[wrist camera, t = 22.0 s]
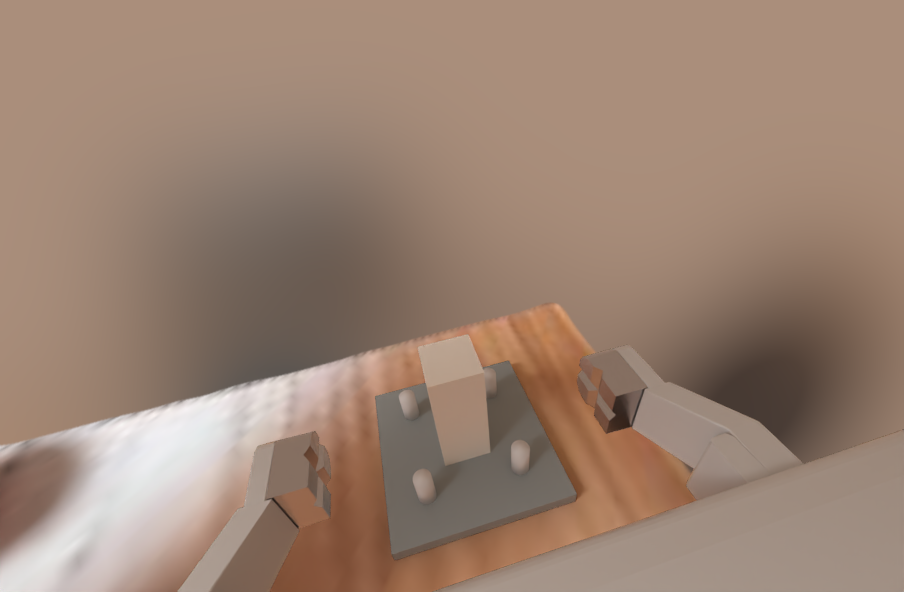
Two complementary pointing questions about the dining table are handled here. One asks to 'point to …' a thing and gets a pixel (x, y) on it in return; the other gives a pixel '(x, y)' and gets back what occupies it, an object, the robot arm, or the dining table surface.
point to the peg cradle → (465, 468)
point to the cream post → (457, 397)
